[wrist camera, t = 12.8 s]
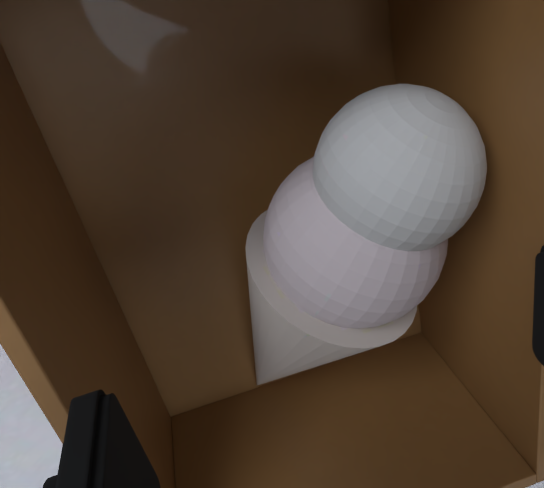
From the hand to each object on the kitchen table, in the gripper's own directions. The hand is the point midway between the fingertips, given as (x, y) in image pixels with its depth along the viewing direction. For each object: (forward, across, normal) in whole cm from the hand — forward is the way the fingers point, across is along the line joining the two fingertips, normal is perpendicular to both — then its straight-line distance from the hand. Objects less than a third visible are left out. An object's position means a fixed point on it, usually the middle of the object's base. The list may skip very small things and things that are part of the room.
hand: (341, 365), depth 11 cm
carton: (+10, 0, 0) cm, 10 cm away
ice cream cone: (+8, 0, 0) cm, 8 cm away
